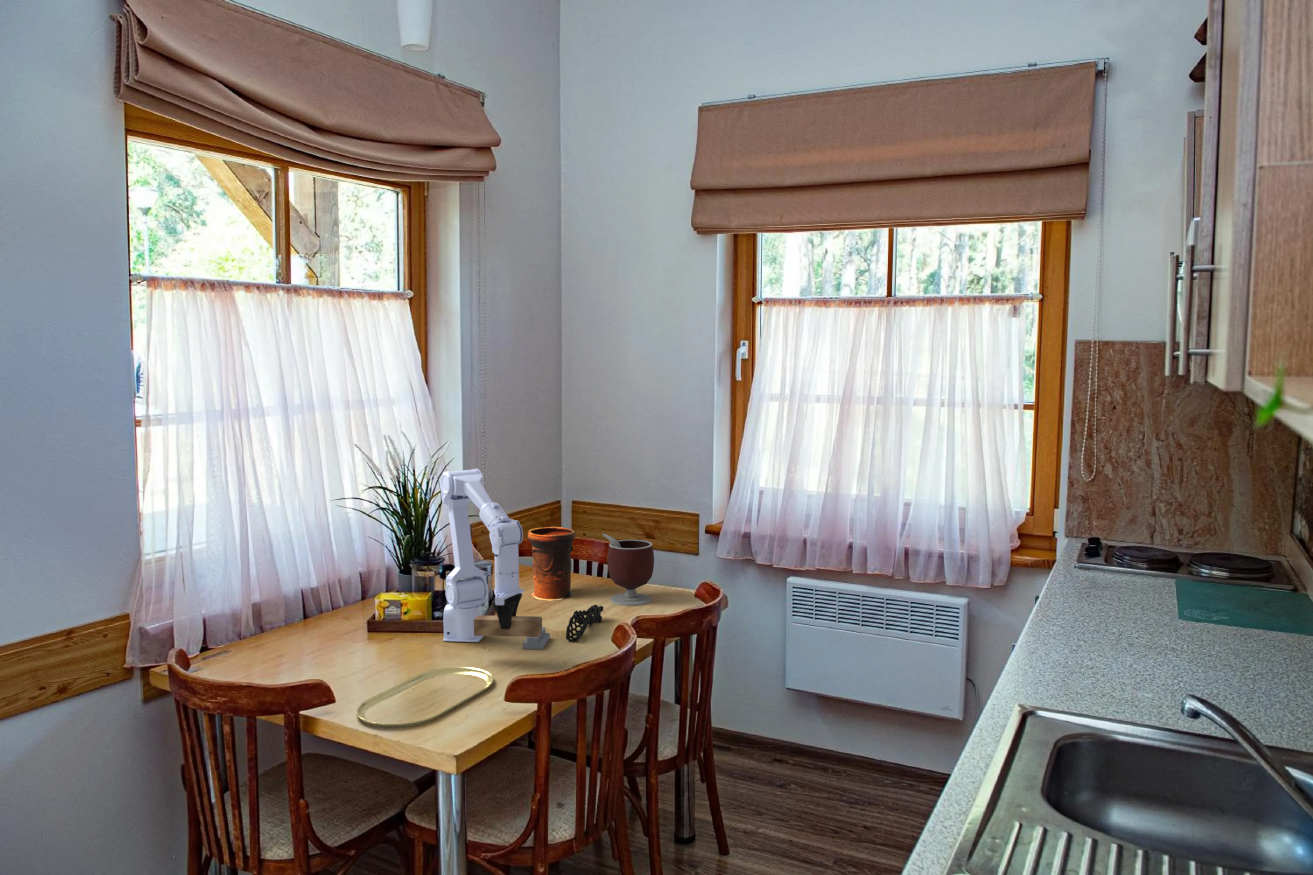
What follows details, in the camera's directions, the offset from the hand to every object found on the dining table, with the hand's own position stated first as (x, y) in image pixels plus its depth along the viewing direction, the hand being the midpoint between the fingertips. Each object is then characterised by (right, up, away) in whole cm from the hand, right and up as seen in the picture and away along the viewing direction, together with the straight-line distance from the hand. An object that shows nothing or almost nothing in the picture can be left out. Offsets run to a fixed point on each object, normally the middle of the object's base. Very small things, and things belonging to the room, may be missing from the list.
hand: (507, 626), depth 232 cm
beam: (0, -2, 0) cm, 2 cm away
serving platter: (-14, -12, -24) cm, 30 cm away
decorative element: (+17, -6, +25) cm, 31 cm away
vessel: (+4, -2, +60) cm, 61 cm away
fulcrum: (+5, -7, +13) cm, 16 cm away
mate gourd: (+28, -3, +54) cm, 61 cm away
